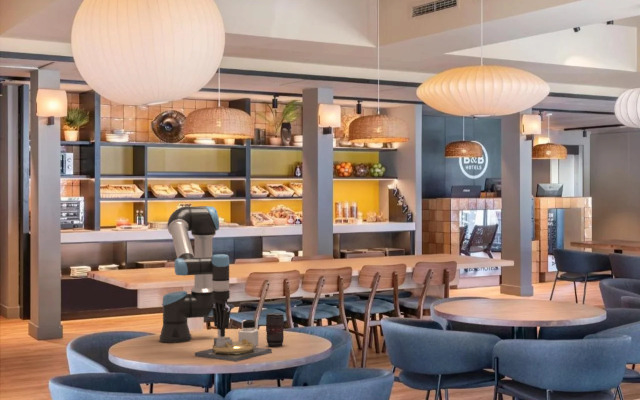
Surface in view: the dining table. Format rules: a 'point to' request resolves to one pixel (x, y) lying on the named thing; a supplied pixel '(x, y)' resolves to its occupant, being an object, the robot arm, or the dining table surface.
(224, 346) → the ring nut
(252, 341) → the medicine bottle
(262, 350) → the base plate
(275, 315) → the camera lens
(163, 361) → the dining table surface
